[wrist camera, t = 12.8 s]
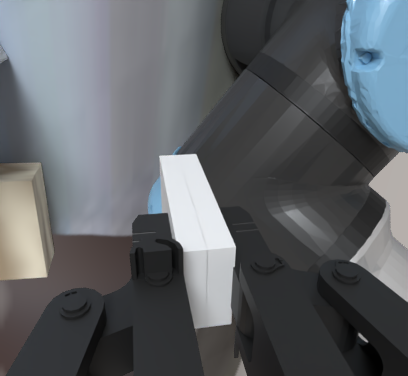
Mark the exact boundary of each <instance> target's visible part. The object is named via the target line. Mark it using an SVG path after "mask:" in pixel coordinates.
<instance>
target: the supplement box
mask: <svg viewBox="0 0 408 376" xmlns="http://www.w3.org/2000/svg"><path fill="white" fill-rule="evenodd" d="M7 59H8V57H7V55H6V53H5V52H4V50H3V49H2V47H1V45H0V63H2V62H4V61H5V60H7Z"/></svg>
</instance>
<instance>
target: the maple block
mask: <svg viewBox="0 0 408 376" xmlns="http://www.w3.org/2000/svg"><path fill="white" fill-rule="evenodd" d="M54 252H55V249H54V242H53V235H52V233H51V226H50V219H49V212H48V206H47V199H46V192H45V185H44V179H43V172H42V165H41V163H0V280H15V279H28V278H43V277H47V276H48V273H49V269H50V266H51V262H52V258H53V255H54Z"/></svg>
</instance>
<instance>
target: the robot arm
mask: <svg viewBox="0 0 408 376" xmlns="http://www.w3.org/2000/svg"><path fill="white" fill-rule="evenodd" d="M221 33H222V40H223V44H224V48H225V51H226V54H227V56H228V58H229V60H230V62H231V64H232V66H233V67H234V69H235V70H236V71H237V73H238V74H239V75H240V76H239V77H238V78H237V79H236V81H235V82H234V83H233V84H232V86H231V87H230V88H229V89H228V91H227V92H226V93H225V94H224V95H223V97H222V98H221V99H220V100H219V102H218V103H217V104H216V105H215V107H214V108H213V109H212V110H211V112H210V113H209V114H208V115H207V116H206V118H205V119H204V120H203V121H202V123H201V124H200V125H199V126H198V128H197V129H196V130H195V131H194V132H193V134H192V135H191V136H190V137H189V139H188V140H187V141H186V142H185V144H184V145H183V146H182V147H178V148H177V149H176V150H175V152H174V153H173V155H168V156H160V177H159V178H158V179H157V181H156V182H155V184H154V185H153V187H152V189H151V191H150V194H149V198H148V214H145V215H138V216H137V218H136V219H135V221H134V222H133V223H132V233H133V247H132V248H131V251H130V263H131V274H132V277H131V279H130V281H129V282H128V283H127V284H126V285H125V286H123V287H122V288H121V289H119V290H117V291H115V292H112V293H110V294H107V295H104V296H102V295H101V294H100V293H98V292H97V291H95V290H93V289H89V288H76V289H71V290H68V291H65V292H63V293H61V294H60V295H58V296H56V297H55V298H53V300H52V301H51V302H50V303H49V304H48V305H47V307H46V309H45V310H44V312H43V314H42V315H41V317H40V319H39V321H38V322H37V324H36V326H35V327H34V329H33V330H32V332H31V334H30V336H29V337H28V339H27V341H26V342H25V344H24V346H23V347H22V349H21V351H20V352H19V354H18V356H17V358H16V359H15V361H14V363H13V364H12V366H11V368H10V369H9V371H8V373H7V374H6V376H123V375H125V374H127V373H129V372H131V371H134V376H204V372H203V367H202V363H201V358H200V353H199V348H198V343H197V338H196V333H195V329H196V328H204V327H212V326H219V325H227V324H231V318H232V312H233V315H234V318H235V321H236V330H235V344H234V358H238V354H239V351H240V354H241V357H242V360H243V364H244V367H245V370H246V373H247V376H408V249H407V248H406V247H404V246H403V245H402V244H401V243H400V242H399V241H397V240H396V239H395V238H394V237H393V236H392V233H391V229H390V228H391V227H390V205H389V203H388V202H387V201H386V200H385V199H384V198H382V197H381V196H380V195H379V194H378V193H377V192H376V191H374V190H373V189H372V188H371V187H369V185H368V184H369V183H370V181H371V180H372V179H373V178H374V177H375V176H376V175H377V174H378V173H379V172H380V171H381V170H382V169H383V168H384V167H385V166H386V165H387V164H388V163H389V162H390V161H391V160H392V159H393V158H394V157H395V156H396V155H397V154H398V153H399V152H405V153H408V0H224V2H223V7H222V13H221Z"/></svg>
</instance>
